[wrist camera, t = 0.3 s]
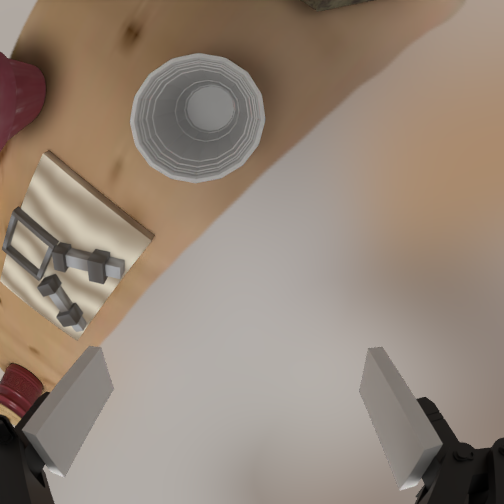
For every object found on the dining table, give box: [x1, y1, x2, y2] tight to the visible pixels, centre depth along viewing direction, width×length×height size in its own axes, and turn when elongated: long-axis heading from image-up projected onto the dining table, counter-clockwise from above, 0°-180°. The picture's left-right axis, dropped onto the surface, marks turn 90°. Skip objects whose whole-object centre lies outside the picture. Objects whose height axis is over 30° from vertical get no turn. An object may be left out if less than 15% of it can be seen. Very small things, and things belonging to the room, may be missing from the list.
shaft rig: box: [0, 151, 155, 341], centre depth 40 cm, size 30×20×4 cm
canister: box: [0, 364, 43, 426], centre depth 55 cm, size 13×13×18 cm
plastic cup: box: [130, 53, 265, 183], centre depth 26 cm, size 11×11×12 cm
